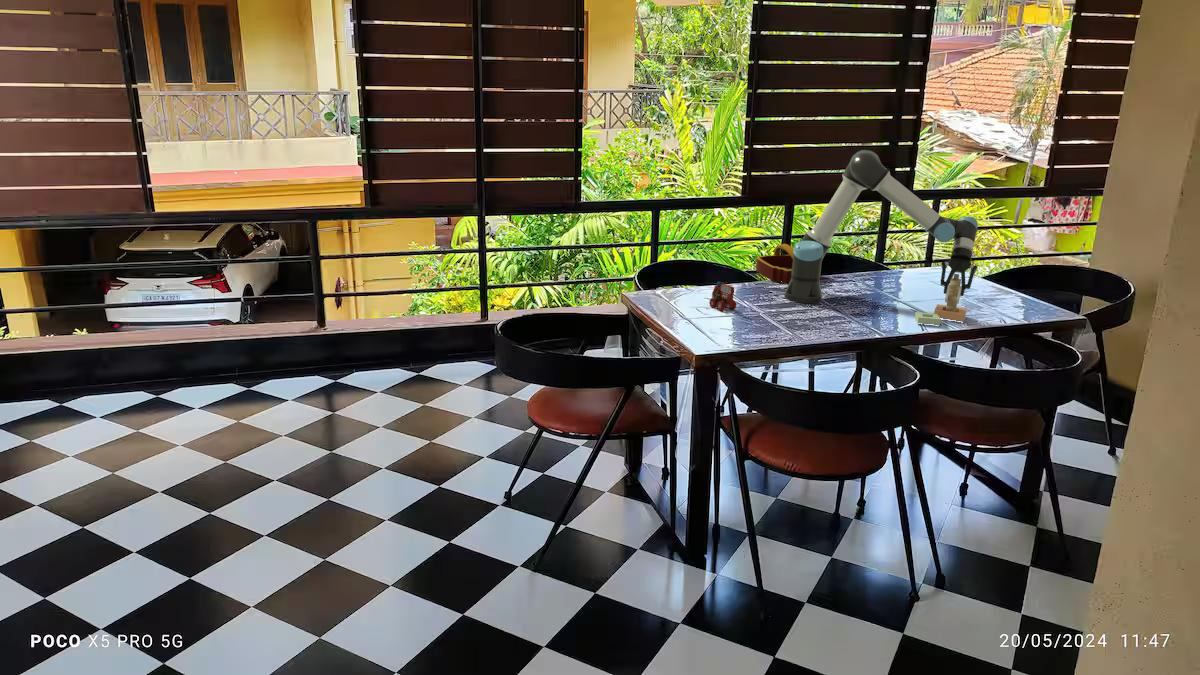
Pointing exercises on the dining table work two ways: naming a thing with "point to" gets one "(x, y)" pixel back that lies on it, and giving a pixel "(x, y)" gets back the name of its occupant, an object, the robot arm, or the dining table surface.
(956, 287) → the peg block
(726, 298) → the toy fire truck
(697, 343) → the dining table surface
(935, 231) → the robot arm
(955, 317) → the orange square frame
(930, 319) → the green square ring
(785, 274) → the decorative basket
